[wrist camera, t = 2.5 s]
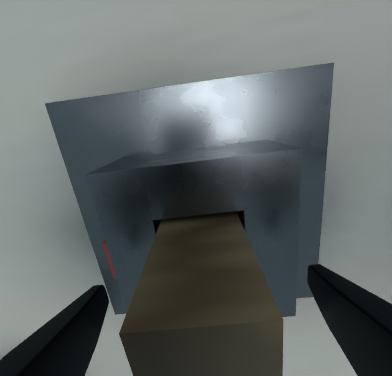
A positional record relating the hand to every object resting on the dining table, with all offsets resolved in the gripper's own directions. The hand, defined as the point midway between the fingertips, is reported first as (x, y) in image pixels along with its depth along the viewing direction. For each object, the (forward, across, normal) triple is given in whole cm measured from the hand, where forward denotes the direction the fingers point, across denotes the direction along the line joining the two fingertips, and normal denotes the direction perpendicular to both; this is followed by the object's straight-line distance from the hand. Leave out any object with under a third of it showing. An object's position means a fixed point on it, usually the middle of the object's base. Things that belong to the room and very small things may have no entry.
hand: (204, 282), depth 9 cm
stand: (+8, 0, 0) cm, 8 cm away
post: (+8, 0, 0) cm, 8 cm away
